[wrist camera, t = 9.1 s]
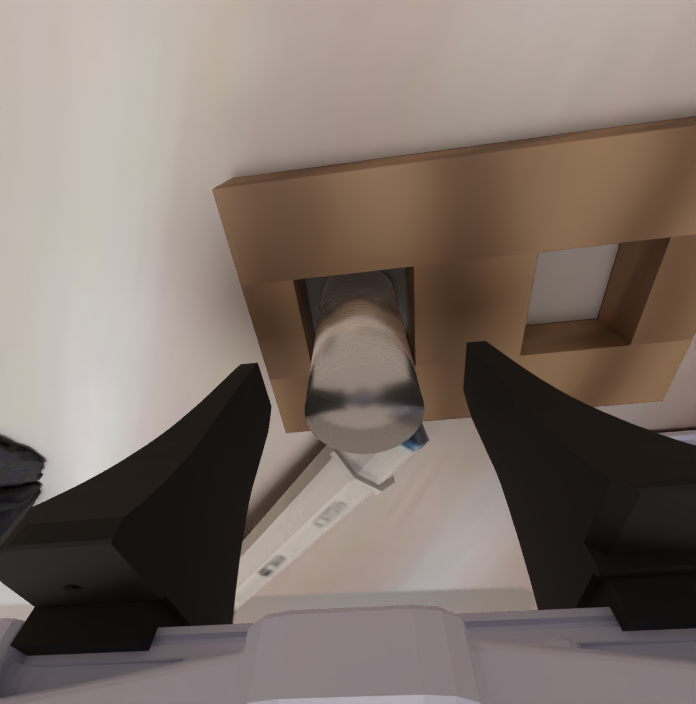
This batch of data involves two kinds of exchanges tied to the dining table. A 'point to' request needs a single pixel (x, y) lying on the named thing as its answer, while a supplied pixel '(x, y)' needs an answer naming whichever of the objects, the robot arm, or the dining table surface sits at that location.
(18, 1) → the dining table surface
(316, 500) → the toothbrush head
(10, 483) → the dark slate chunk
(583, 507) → the robot arm
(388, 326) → the steel pin
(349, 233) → the wooden holder tray
